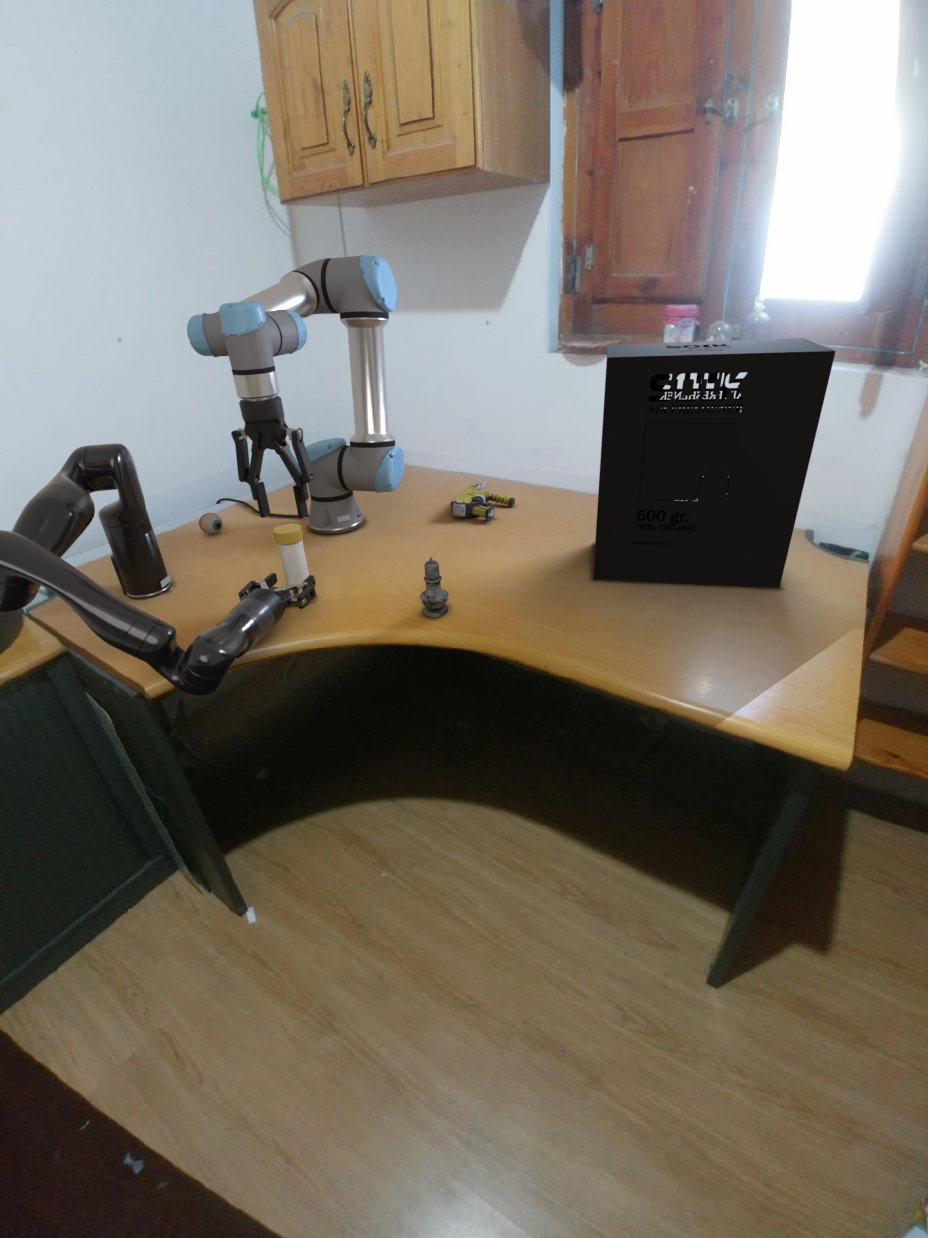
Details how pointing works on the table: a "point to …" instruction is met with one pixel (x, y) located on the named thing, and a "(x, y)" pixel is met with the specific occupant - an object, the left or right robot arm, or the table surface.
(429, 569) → the dark grey tall piece
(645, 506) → the cardboard box
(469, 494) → the toy gun
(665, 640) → the table surface
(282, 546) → the jar
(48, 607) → the table surface
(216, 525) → the eyeball
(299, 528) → the lid
